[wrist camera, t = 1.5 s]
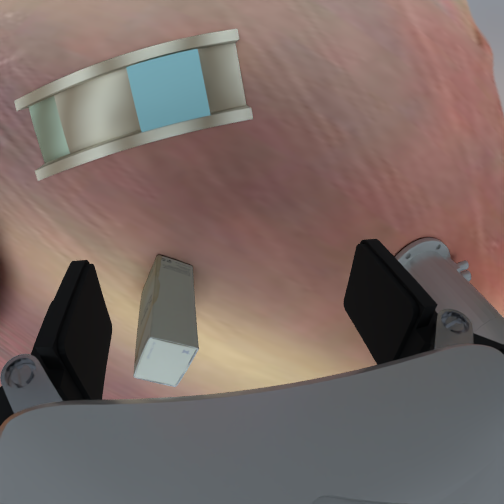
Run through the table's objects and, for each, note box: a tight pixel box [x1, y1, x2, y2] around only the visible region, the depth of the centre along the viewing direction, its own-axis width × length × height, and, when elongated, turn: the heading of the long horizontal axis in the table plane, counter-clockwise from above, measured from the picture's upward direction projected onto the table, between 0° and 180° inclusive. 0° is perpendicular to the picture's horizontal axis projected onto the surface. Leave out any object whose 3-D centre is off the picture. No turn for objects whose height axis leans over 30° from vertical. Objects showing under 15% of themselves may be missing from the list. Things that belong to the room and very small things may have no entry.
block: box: [126, 49, 211, 132], centre depth 22 cm, size 5×5×6 cm
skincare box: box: [134, 255, 199, 387], centre depth 30 cm, size 6×4×12 cm
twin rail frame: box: [14, 29, 253, 181], centre depth 24 cm, size 20×8×3 cm, turn 99°
